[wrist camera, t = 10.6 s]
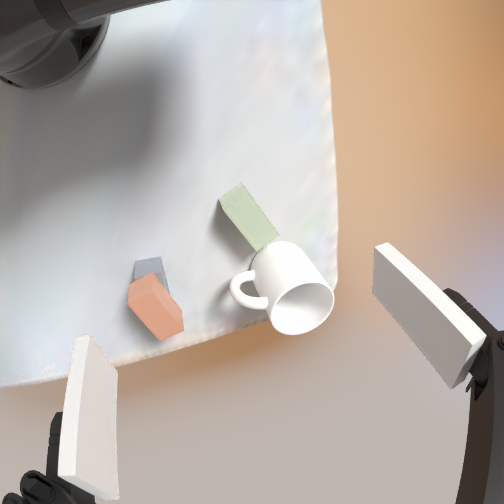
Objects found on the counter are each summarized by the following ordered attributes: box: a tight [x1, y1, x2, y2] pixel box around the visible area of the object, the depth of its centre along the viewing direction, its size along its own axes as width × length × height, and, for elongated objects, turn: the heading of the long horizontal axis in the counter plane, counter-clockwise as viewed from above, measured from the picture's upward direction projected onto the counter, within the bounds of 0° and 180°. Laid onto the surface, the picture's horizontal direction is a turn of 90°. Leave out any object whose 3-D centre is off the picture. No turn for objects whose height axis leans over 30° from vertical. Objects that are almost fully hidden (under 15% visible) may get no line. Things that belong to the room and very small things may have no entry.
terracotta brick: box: [127, 272, 184, 341], centre depth 37 cm, size 7×4×4 cm, turn 24°
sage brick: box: [219, 182, 279, 252], centre depth 39 cm, size 7×4×4 cm, turn 34°
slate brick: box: [134, 257, 171, 296], centre depth 41 cm, size 7×4×4 cm, turn 5°
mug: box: [229, 241, 334, 335], centre depth 41 cm, size 12×8×10 cm
